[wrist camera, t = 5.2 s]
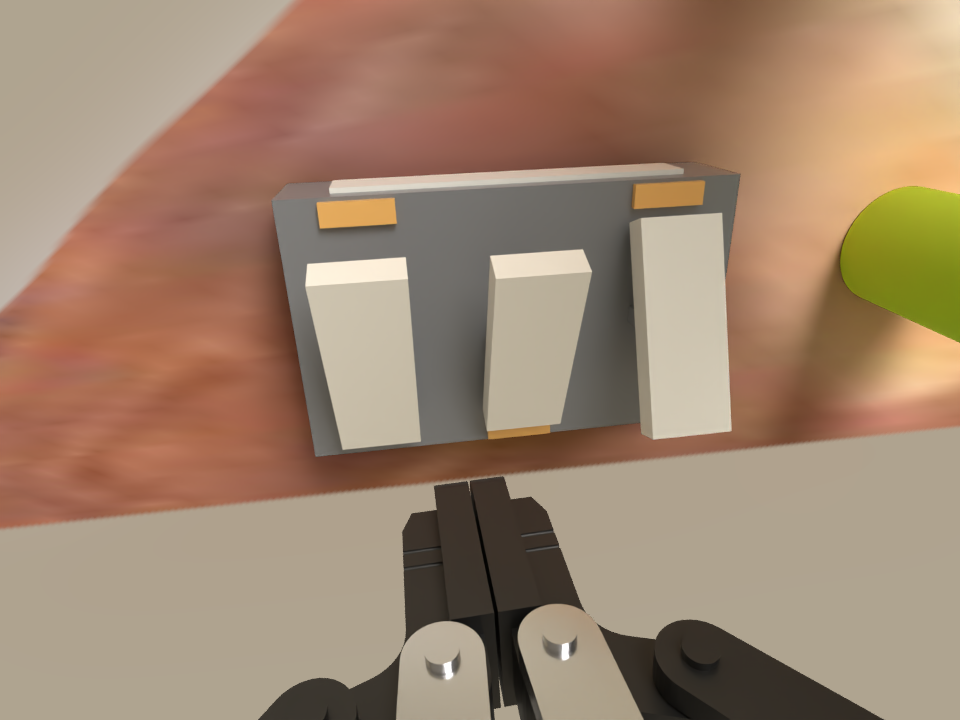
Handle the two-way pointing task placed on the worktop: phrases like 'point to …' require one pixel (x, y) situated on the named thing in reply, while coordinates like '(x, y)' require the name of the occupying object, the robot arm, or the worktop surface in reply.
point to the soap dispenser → (908, 257)
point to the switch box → (465, 275)
